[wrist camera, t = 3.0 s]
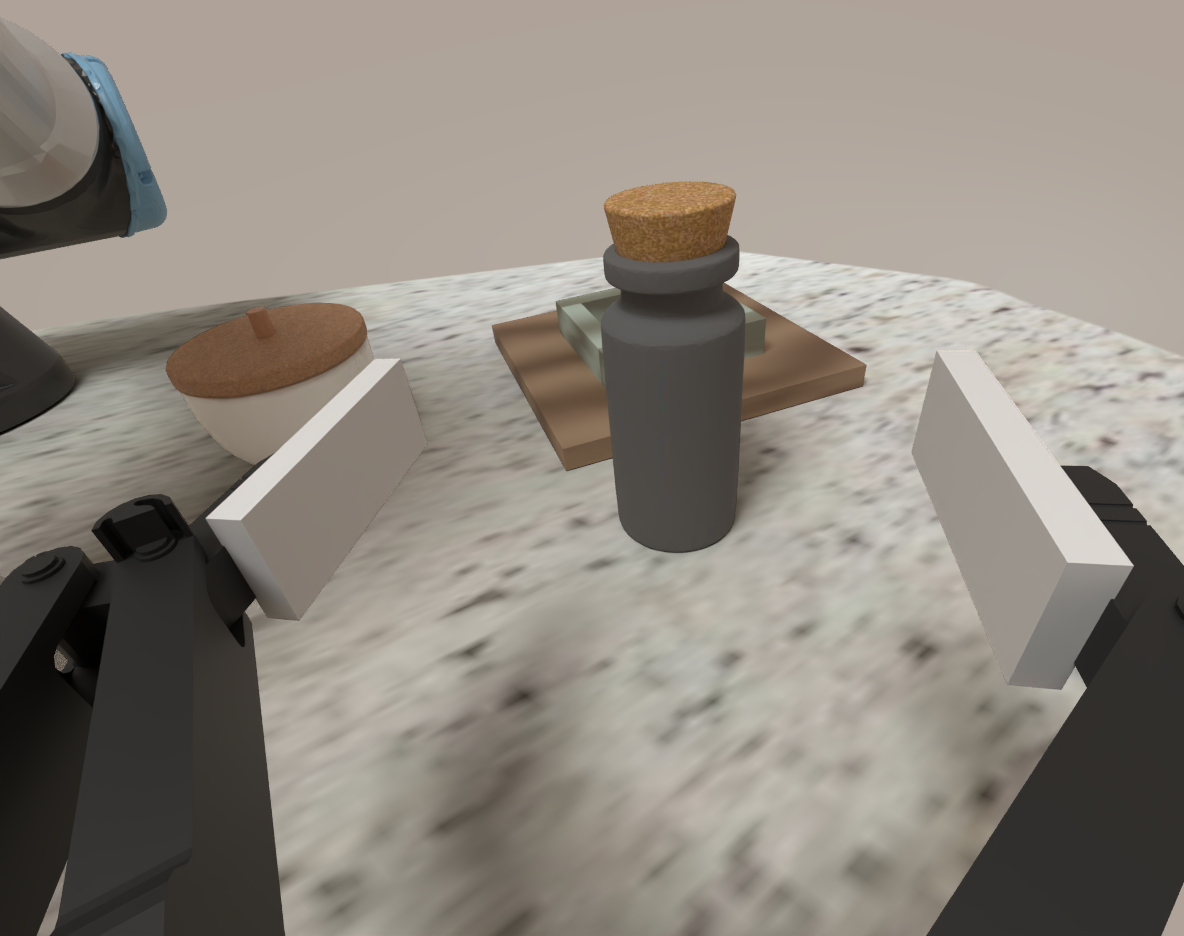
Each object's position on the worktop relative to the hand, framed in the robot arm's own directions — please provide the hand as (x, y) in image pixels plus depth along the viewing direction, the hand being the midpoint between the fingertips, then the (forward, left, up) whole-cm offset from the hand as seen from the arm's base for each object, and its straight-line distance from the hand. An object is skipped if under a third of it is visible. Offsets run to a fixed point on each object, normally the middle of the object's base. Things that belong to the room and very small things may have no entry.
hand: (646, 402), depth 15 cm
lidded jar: (-25, -13, -12) cm, 31 cm away
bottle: (-9, +5, -12) cm, 16 cm away
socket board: (-25, +11, -12) cm, 30 cm away
